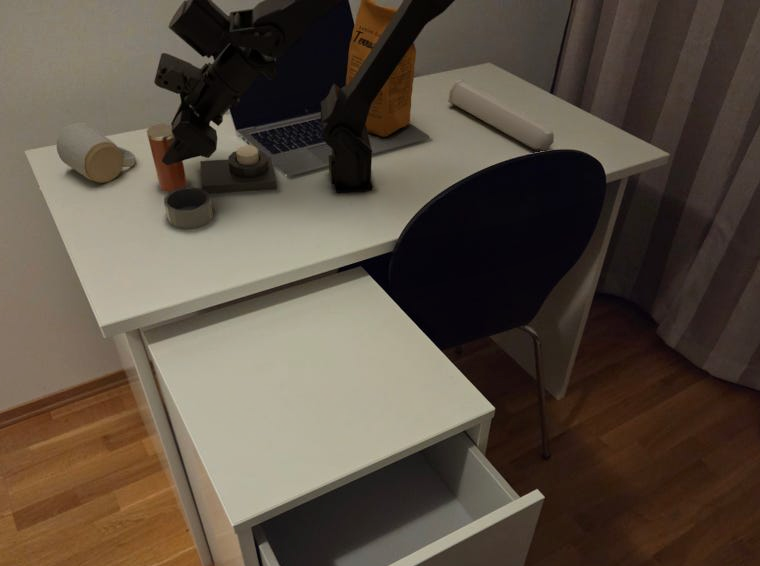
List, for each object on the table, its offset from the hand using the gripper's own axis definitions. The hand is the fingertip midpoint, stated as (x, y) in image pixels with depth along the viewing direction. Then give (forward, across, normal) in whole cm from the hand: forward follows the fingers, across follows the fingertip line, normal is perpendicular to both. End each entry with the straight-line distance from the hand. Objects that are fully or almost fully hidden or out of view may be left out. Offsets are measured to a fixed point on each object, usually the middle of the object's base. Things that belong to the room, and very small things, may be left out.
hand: (167, 148), depth 101 cm
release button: (-6, -3, +11) cm, 13 cm away
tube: (-38, -19, +48) cm, 64 cm away
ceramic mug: (+14, -6, -4) cm, 15 cm away
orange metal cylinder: (+5, 0, +5) cm, 7 cm away
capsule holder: (+3, +9, +7) cm, 12 cm away
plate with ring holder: (-2, -1, +12) cm, 12 cm away
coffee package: (-21, -22, +31) cm, 43 cm away
